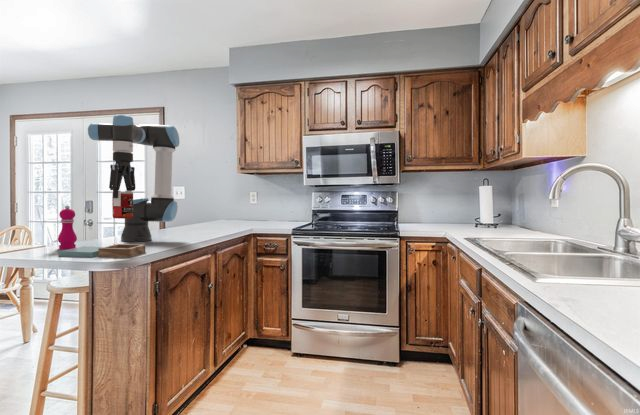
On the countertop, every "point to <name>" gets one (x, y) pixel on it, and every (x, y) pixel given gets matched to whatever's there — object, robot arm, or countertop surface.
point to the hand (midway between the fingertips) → (122, 205)
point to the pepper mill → (67, 229)
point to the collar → (121, 250)
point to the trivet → (81, 252)
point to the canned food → (124, 206)
